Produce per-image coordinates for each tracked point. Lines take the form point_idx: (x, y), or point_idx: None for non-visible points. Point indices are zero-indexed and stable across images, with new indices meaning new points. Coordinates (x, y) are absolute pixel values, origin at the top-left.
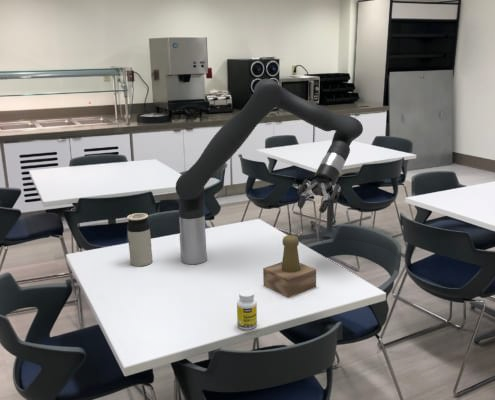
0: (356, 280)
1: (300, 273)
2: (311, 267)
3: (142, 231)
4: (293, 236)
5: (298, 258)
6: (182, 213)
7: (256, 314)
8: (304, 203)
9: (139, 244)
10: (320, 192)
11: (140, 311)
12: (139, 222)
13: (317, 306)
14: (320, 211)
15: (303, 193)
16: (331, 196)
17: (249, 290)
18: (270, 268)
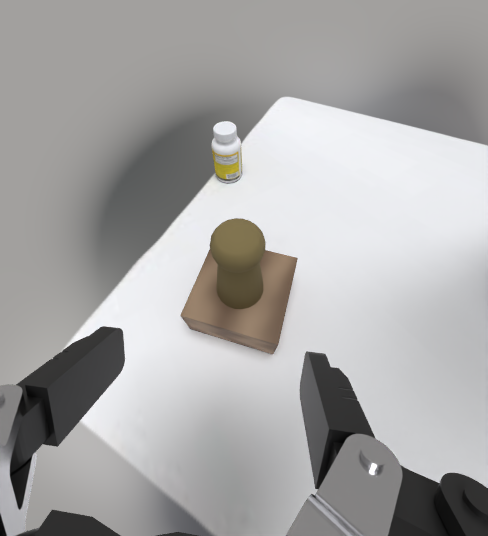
0: (106, 423)
1: (206, 275)
2: (196, 320)
3: None
4: (227, 237)
5: (217, 277)
6: None
7: (214, 163)
8: (307, 437)
9: None
10: (45, 526)
11: (369, 143)
12: None
13: (158, 258)
14: (118, 342)
15: (369, 475)
16: None
17: (225, 133)
18: (282, 265)
